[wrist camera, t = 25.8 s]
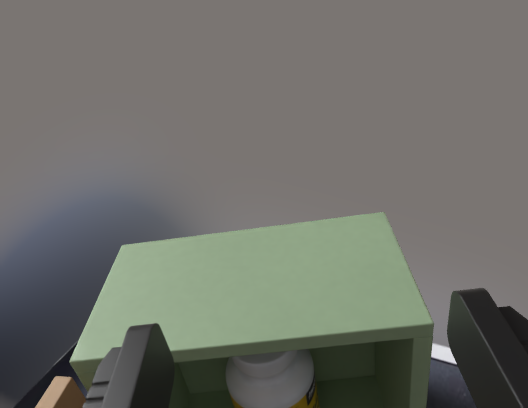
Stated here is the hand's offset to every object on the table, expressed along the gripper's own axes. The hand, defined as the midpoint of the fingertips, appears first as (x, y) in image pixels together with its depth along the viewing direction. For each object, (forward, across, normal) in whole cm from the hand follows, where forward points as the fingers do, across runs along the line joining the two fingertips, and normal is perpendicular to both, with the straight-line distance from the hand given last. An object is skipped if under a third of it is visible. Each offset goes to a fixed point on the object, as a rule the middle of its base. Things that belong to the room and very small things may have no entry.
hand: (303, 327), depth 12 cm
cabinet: (+11, +3, +26) cm, 29 cm away
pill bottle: (+11, +3, +25) cm, 28 cm away
